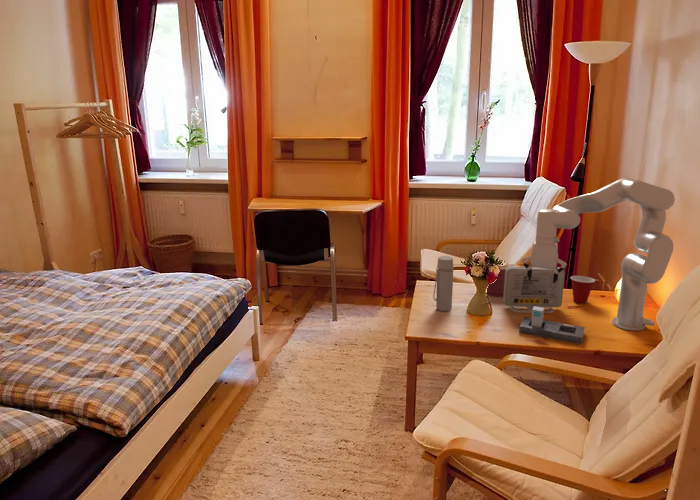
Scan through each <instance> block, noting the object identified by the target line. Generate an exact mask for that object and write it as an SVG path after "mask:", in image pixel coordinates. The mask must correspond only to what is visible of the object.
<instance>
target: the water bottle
mask: <svg viewBox="0 0 700 500" xmlns="http://www.w3.org/2000/svg"><path fill="white" fill-rule="evenodd" d="M435 272H436V273H435V283H434V289H433V295H432V297H433V301H435V302H436V304H435V306H436V307H435V308H436V309H437V310H438V311H441V312H449V311H451V310H452V308H453V306H452V305H453V287H454V286H453V285H454V258H453V257H452V256H450V255H449V256H448V255H441V256H438V259H437V265H436V268H435ZM435 294H436V296H435ZM435 297H436V298H435Z"/></svg>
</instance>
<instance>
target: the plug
mask: <svg viewBox="0 0 700 500" xmlns="http://www.w3.org/2000/svg"><path fill="white" fill-rule="evenodd" d="M544 311H545V307H536V306H534V307H533V309H532V313H531V318H532V320H531V326H535V327H540V328H542V325H543V320H544V315H545V313H544Z"/></svg>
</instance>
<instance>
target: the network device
mask: <svg viewBox="0 0 700 500" xmlns="http://www.w3.org/2000/svg"><path fill="white" fill-rule="evenodd" d="M560 267H561V266H559V267H558V266H557V268H558V269H559V268H560ZM531 269H532V277H531V279H530V280H528V278H529V277H527V272H528V270H527V269H526V268H525V266H509V267H507V268H506V269H505V282H504V295H503V296H502V297H503V298H502V299H503V301H502V302H504V303H503V304H504V305H505V306H506V307H509V308H510V309H511V311H512V312H515V313H525V314H527V313H531V314H532V309H533V307H534V306H536V307H542V308H548V310H544V314H553V313H554V312H555V311H554V308H561V306H562V304H563V296H564V295H563V293H564V285H565V275H566V272H565V271H566V270H564V269H563V270H562V271H561V272H560V273H558V281H556V282H555V283H553V278H554V273H555V272H554V271H553V269H547V268H539V267H532V268H531ZM514 307H525V308H527V309H528V310H523V309H522V310H521V309H520V310H517V309H515V308H514Z"/></svg>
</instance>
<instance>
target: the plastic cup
mask: <svg viewBox="0 0 700 500" xmlns="http://www.w3.org/2000/svg"><path fill="white" fill-rule="evenodd" d="M570 279H571V284H572V287H571V288H572V296H573V302H574V303H576V304H580V305H585V304H587V303H588V300H589V297H590V294H591V291H592V287H593V285H594V283H595V282H596V279H594V277H593V278H592V277H589V276H585V275H584V276H583V275H572V276H570Z"/></svg>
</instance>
